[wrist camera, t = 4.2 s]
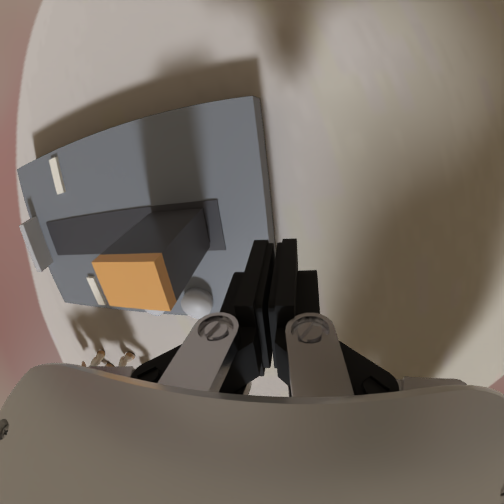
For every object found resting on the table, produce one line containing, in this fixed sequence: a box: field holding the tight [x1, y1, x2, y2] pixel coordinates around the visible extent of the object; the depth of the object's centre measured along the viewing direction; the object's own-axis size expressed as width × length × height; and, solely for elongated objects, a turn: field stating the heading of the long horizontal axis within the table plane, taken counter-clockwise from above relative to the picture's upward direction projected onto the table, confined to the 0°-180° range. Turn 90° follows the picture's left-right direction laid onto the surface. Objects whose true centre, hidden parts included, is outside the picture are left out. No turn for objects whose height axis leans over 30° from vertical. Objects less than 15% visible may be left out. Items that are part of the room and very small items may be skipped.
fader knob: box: [91, 208, 210, 311], centre depth 15 cm, size 4×3×7 cm
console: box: [17, 96, 276, 319], centre depth 20 cm, size 24×16×5 cm, turn 97°
